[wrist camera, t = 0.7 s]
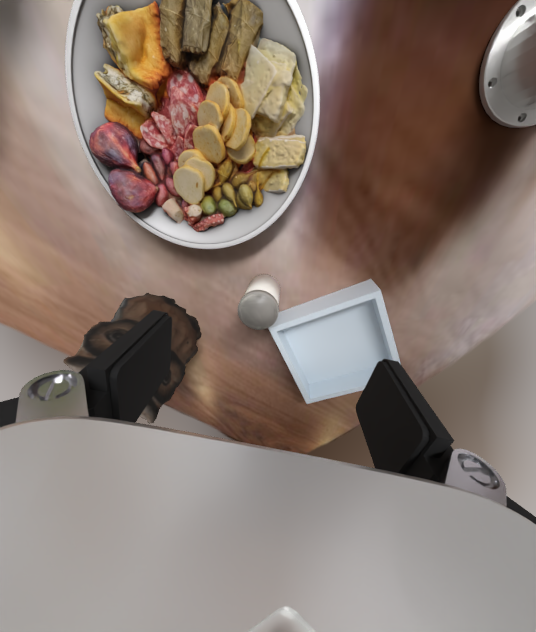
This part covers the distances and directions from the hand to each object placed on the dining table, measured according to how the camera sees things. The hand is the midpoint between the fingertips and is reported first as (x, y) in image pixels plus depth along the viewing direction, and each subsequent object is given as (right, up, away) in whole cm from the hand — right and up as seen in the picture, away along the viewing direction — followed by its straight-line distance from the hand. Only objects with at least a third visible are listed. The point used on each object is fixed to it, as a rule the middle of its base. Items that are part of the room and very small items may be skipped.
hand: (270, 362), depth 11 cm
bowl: (-9, +28, +22) cm, 37 cm away
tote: (+12, -2, +35) cm, 37 cm away
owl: (-20, +1, +37) cm, 42 cm away
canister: (-1, +7, +32) cm, 32 cm away
